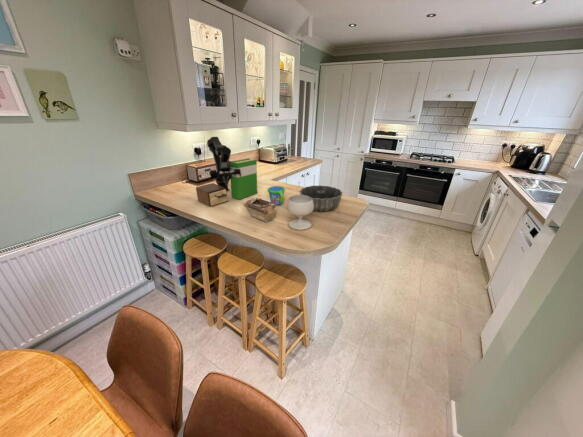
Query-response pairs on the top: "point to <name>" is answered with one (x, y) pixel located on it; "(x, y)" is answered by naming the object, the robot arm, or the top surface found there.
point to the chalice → (300, 210)
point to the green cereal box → (244, 178)
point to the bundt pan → (323, 197)
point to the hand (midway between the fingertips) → (226, 185)
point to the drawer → (217, 197)
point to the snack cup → (276, 194)
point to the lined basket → (261, 209)
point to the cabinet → (207, 192)
